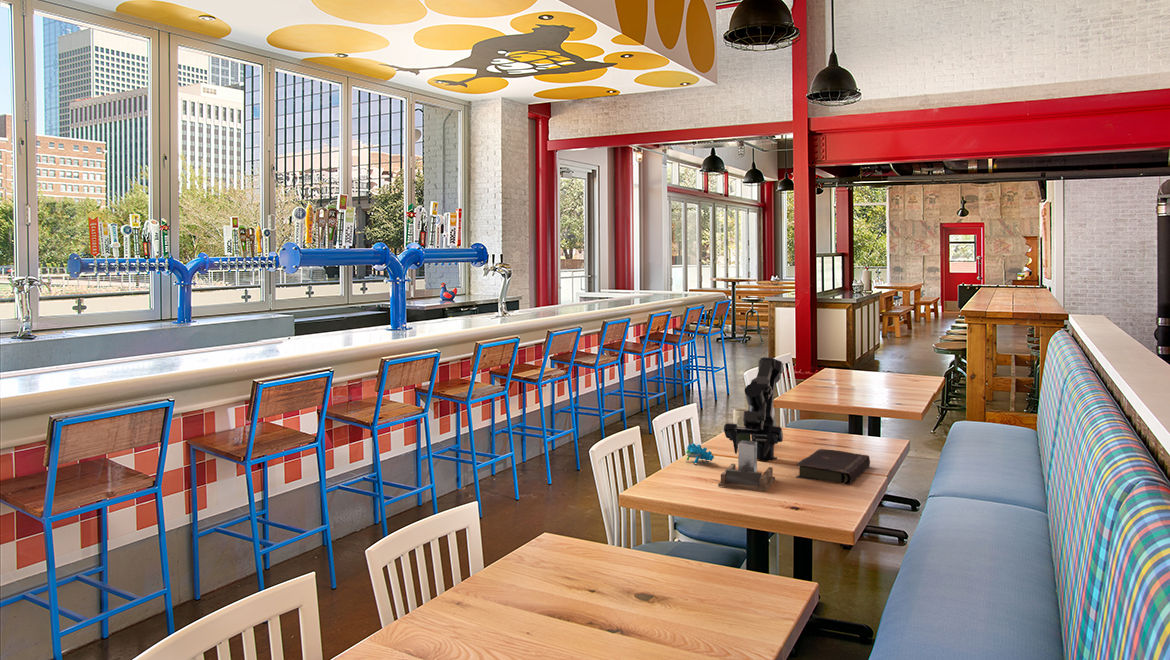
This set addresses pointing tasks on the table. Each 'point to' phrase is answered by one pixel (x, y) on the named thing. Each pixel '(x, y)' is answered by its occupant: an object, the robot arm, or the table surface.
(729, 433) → the robot arm
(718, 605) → the table surface
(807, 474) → the diary
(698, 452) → the blue spiky toy dinosaur
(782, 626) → the table surface
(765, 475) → the keeper cradle
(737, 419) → the character mug
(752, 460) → the steel link block
